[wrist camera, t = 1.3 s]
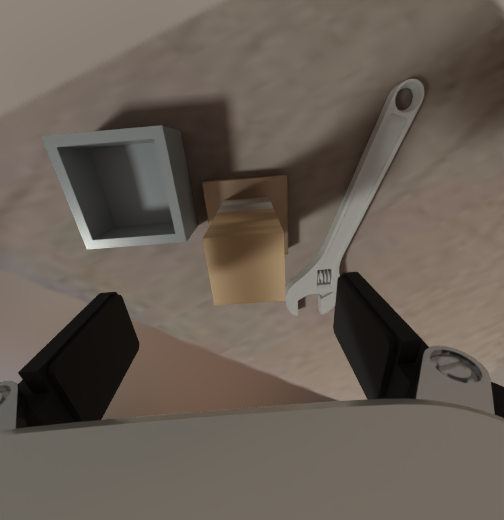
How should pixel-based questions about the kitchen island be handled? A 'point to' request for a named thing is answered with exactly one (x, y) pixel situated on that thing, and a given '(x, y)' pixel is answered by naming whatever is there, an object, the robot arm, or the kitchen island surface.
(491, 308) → the kitchen island surface
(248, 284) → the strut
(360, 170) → the adjustable wrench
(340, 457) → the robot arm
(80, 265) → the kitchen island surface
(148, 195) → the bin
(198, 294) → the kitchen island surface
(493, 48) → the kitchen island surface
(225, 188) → the stud plate
